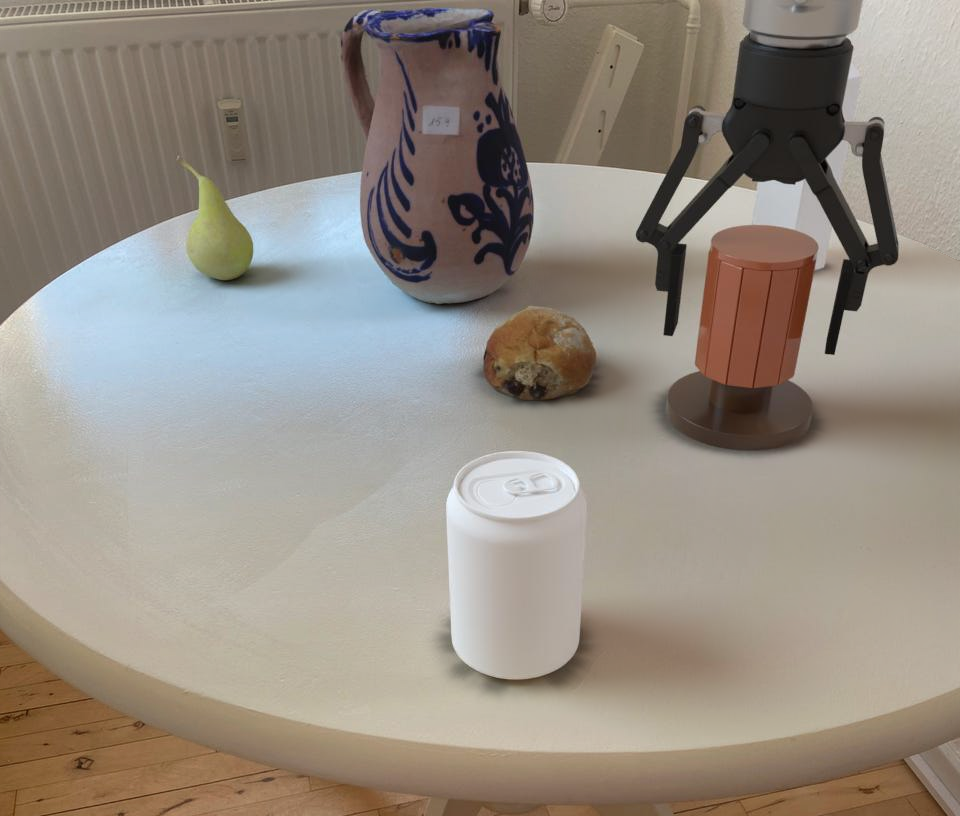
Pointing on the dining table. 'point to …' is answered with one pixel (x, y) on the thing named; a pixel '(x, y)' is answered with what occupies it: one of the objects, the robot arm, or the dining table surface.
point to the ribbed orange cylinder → (755, 304)
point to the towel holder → (738, 413)
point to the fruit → (217, 235)
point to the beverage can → (516, 563)
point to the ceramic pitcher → (439, 153)
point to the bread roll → (539, 355)
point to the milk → (807, 189)
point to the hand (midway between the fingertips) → (749, 338)
